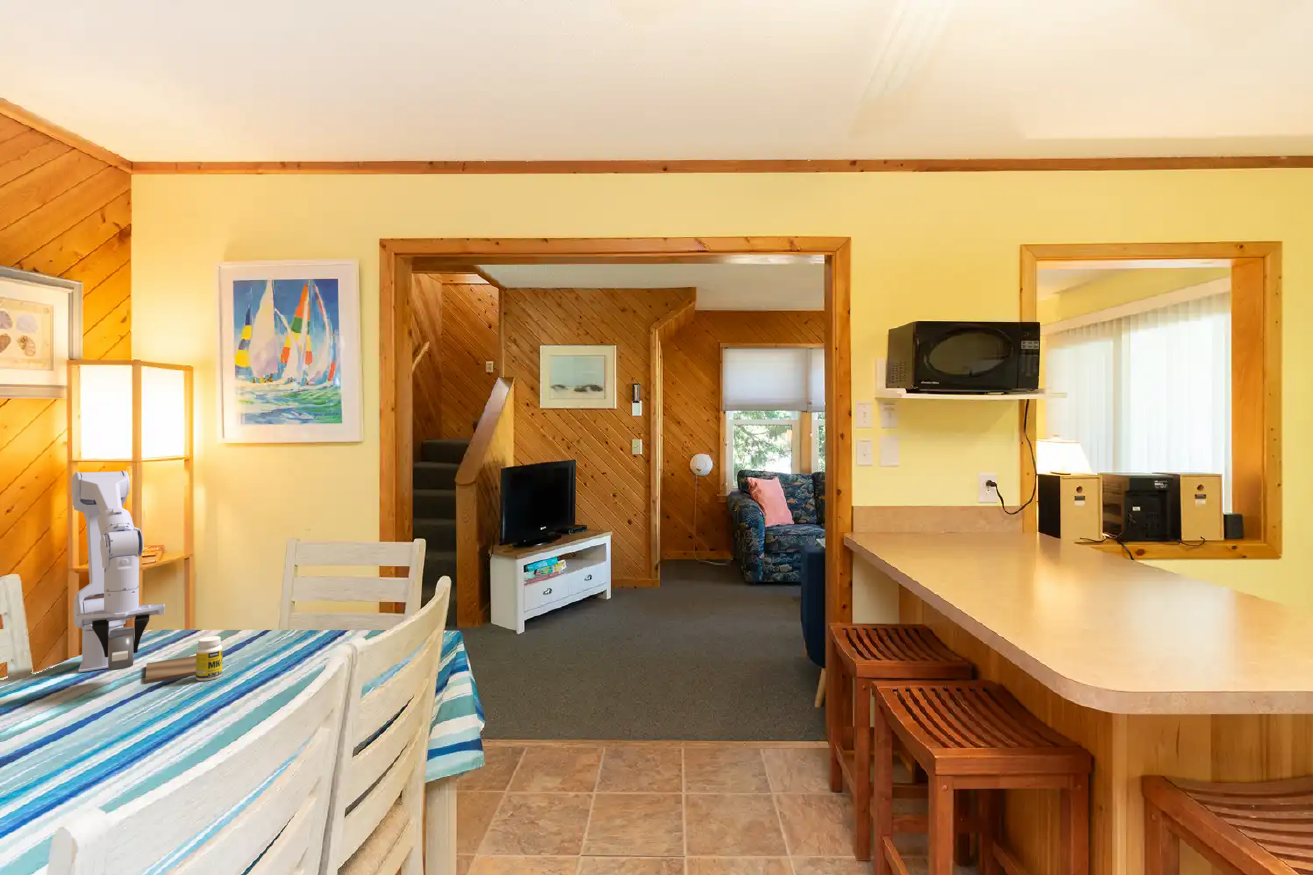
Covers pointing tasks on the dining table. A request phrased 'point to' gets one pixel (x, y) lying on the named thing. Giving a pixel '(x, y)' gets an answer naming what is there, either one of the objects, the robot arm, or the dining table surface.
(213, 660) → the supplement bottle
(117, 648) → the grey rounded piece
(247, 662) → the dining table surface
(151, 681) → the walnut board
